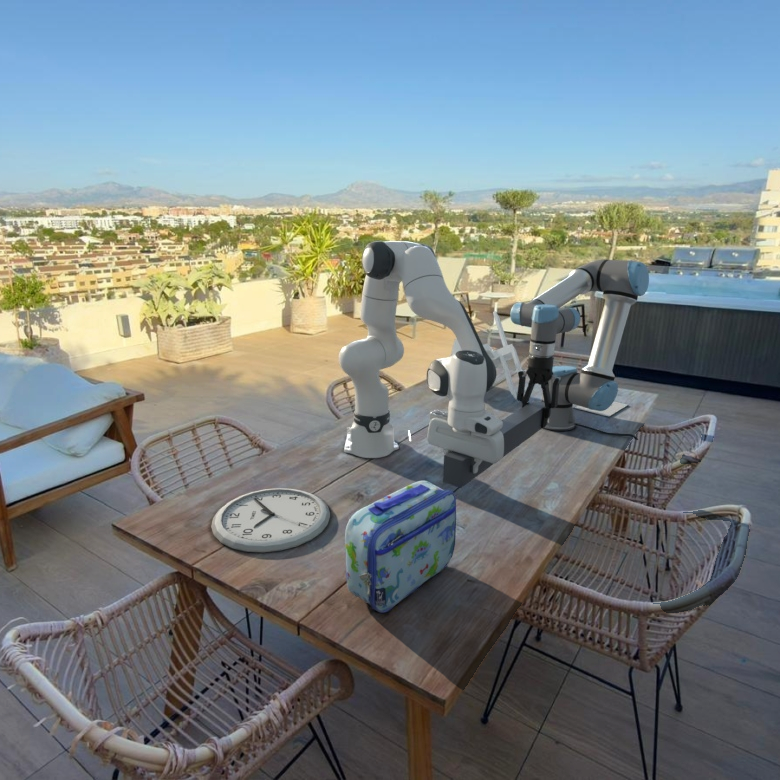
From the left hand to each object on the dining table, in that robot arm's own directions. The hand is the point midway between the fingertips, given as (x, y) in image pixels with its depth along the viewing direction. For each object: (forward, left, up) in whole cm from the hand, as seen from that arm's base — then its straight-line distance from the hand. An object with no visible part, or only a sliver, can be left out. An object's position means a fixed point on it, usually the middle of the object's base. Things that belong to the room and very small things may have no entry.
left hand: (462, 468), depth 133 cm
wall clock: (-9, -48, -15) cm, 51 cm away
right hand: (-32, +36, -2) cm, 48 cm away
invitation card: (-77, +90, -15) cm, 119 cm away
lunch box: (+23, -20, -15) cm, 34 cm away
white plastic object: (-104, +45, -15) cm, 115 cm away
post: (-16, +18, -3) cm, 24 cm away
